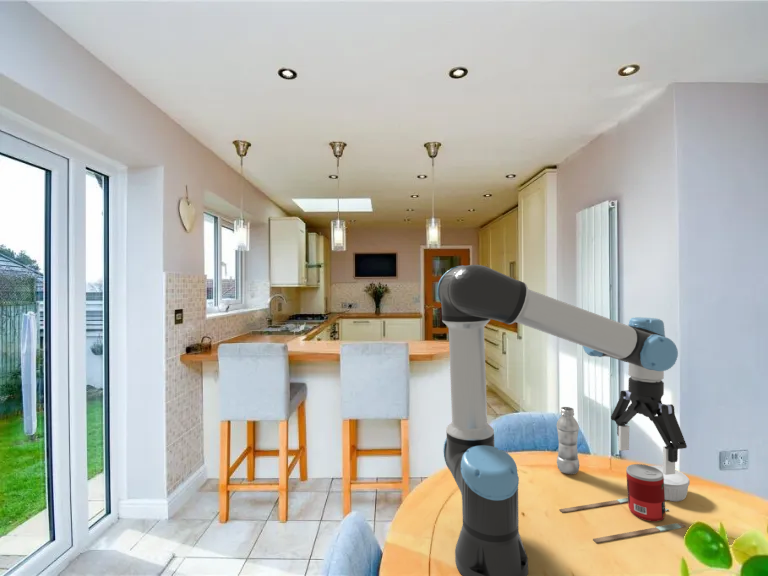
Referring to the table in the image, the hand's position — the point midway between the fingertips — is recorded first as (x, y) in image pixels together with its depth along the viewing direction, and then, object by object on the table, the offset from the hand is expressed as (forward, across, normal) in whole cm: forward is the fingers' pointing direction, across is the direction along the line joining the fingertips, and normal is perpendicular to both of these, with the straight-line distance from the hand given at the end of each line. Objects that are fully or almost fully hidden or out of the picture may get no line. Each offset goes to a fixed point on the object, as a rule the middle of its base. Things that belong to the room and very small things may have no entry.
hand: (644, 461), depth 102 cm
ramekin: (+14, +7, -14) cm, 21 cm away
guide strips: (+14, 0, +7) cm, 16 cm away
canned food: (+14, 0, -1) cm, 14 cm away
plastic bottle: (+14, +24, +4) cm, 28 cm away
